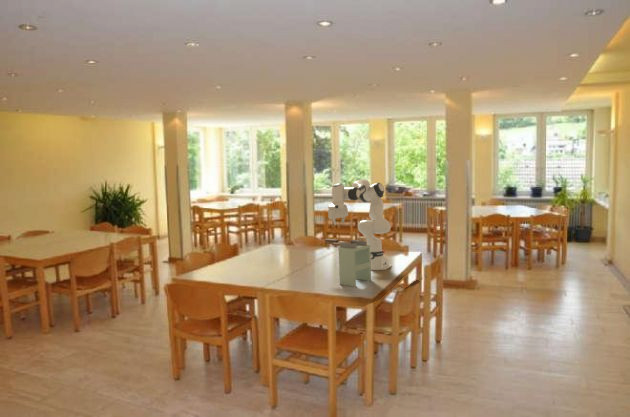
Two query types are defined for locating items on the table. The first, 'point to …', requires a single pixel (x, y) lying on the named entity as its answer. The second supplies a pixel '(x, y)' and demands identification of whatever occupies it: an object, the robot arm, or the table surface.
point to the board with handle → (335, 242)
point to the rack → (354, 261)
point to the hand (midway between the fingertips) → (338, 223)
